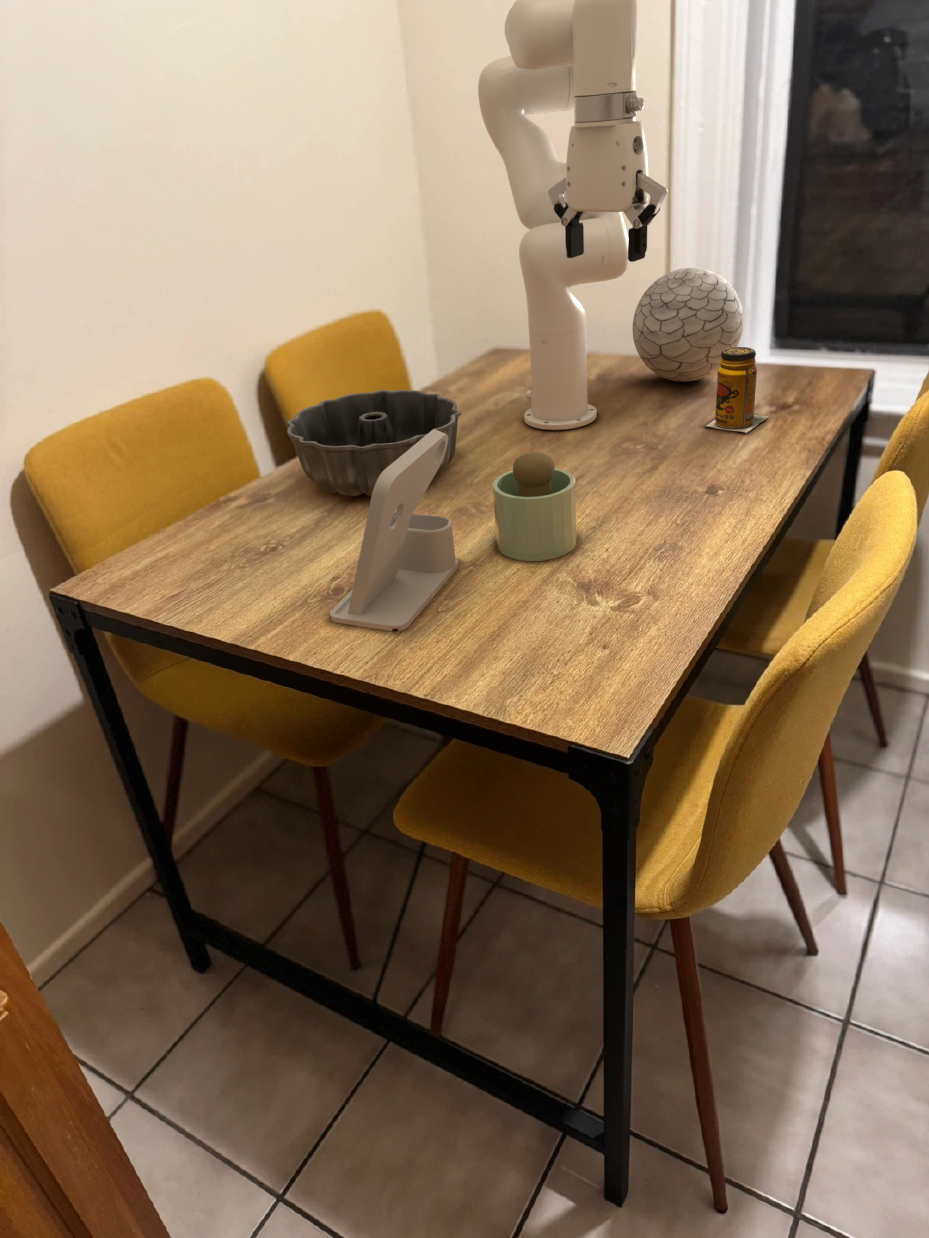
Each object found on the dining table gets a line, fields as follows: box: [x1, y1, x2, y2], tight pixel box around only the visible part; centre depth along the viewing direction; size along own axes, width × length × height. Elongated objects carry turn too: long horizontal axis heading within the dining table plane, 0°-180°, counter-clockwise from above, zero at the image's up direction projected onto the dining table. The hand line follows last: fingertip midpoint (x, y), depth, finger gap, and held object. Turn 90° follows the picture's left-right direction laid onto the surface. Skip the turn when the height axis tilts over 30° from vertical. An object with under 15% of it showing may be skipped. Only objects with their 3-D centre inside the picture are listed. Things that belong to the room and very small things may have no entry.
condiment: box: [705, 346, 770, 433], centre depth 143 cm, size 7×8×12 cm
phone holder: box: [329, 429, 459, 632], centre depth 103 cm, size 17×10×18 cm, turn 157°
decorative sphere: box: [631, 267, 744, 383], centre depth 164 cm, size 20×20×20 cm
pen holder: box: [492, 467, 577, 562], centre depth 113 cm, size 10×10×8 cm
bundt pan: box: [286, 389, 462, 498], centre depth 137 cm, size 26×26×10 cm
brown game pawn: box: [512, 451, 556, 497], centre depth 112 cm, size 6×6×11 cm
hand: (605, 258), depth 119 cm, fingers open, 9 cm apart
